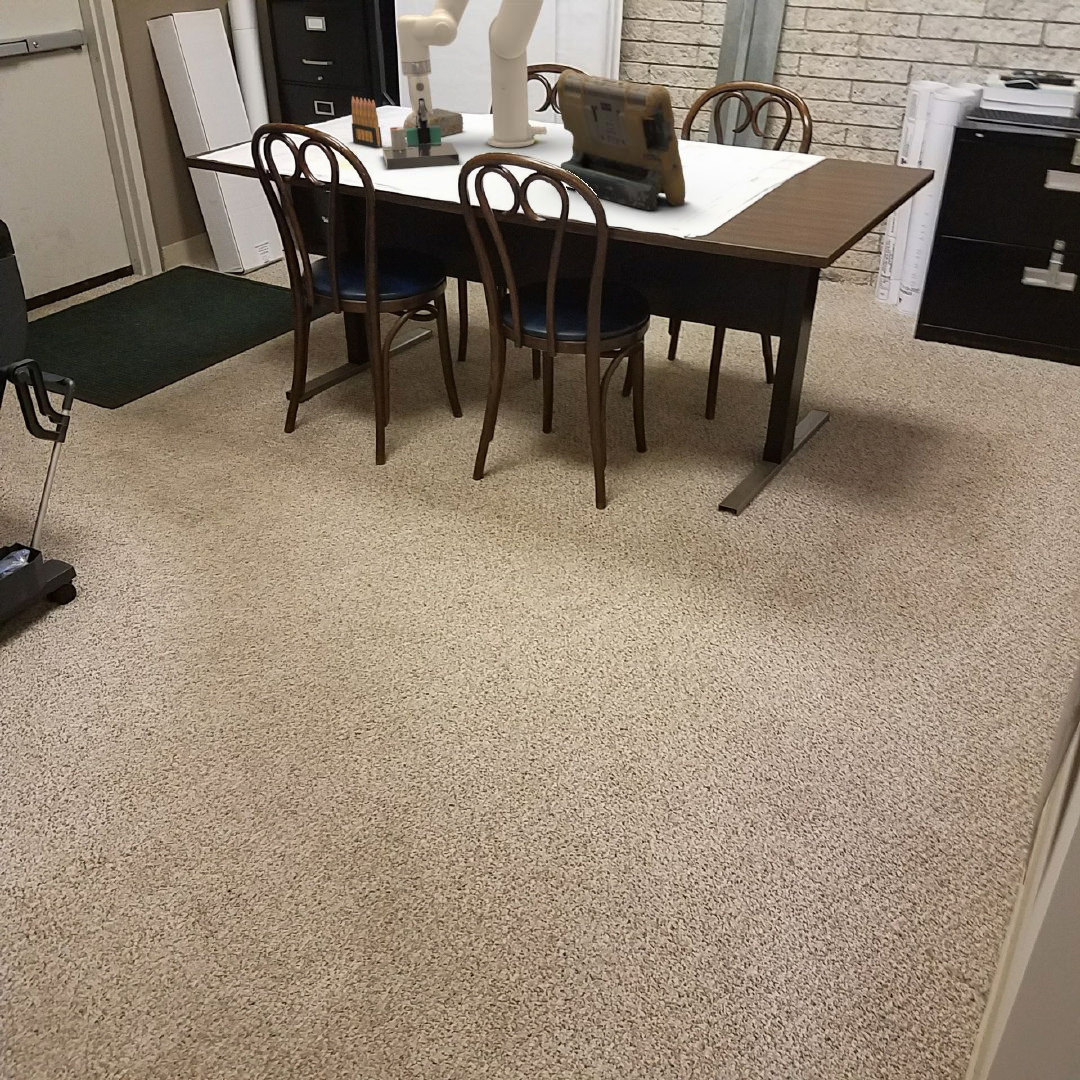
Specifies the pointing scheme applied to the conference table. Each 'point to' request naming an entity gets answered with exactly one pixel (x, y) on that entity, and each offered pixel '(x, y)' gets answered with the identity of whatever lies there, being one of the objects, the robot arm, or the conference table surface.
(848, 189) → the conference table surface
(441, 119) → the geological specimen
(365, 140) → the ammunition clip
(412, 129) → the teal post
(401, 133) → the dial
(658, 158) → the tablet
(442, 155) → the hob
